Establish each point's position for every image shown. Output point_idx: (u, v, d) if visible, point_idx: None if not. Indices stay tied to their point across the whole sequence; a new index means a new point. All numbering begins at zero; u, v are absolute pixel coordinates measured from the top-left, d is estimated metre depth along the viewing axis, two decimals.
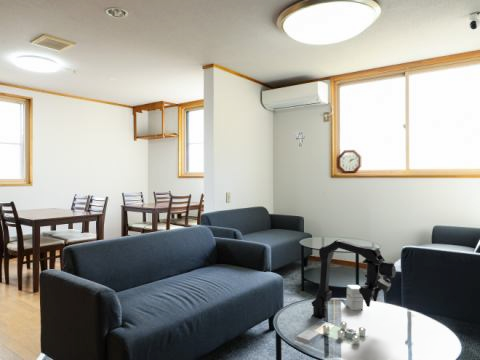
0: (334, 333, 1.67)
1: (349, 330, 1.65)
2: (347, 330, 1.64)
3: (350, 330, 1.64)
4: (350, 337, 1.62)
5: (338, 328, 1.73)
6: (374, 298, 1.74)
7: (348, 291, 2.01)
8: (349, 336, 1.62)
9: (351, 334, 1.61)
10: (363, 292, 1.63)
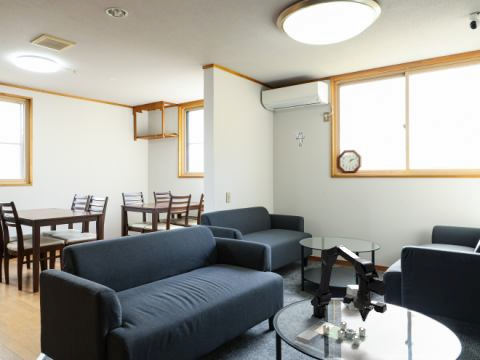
0: (334, 333, 1.67)
1: (349, 330, 1.65)
2: (347, 330, 1.64)
3: (350, 330, 1.64)
4: (350, 337, 1.62)
5: (338, 328, 1.73)
6: None
7: (348, 291, 2.01)
8: (349, 336, 1.62)
9: (351, 334, 1.61)
10: None
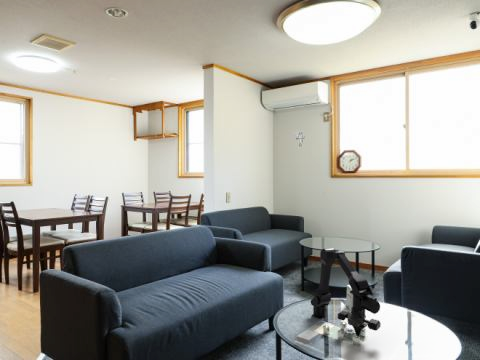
0: (334, 333, 1.67)
1: (348, 330, 1.65)
2: (346, 330, 1.64)
3: (350, 330, 1.64)
4: (349, 337, 1.62)
5: (338, 328, 1.73)
6: None
7: (348, 291, 2.01)
8: (348, 336, 1.62)
9: (350, 334, 1.62)
10: None
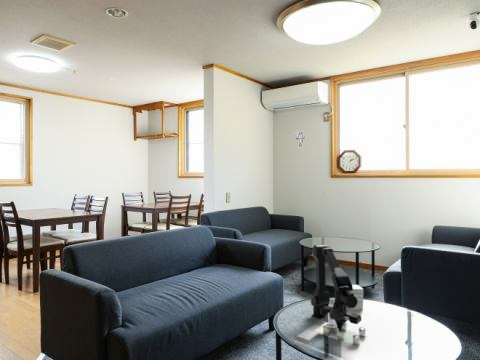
0: None
1: (331, 324, 1.70)
2: (329, 325, 1.70)
3: (332, 324, 1.70)
4: (332, 331, 1.67)
5: None
6: None
7: None
8: (331, 330, 1.67)
9: (333, 328, 1.67)
10: None
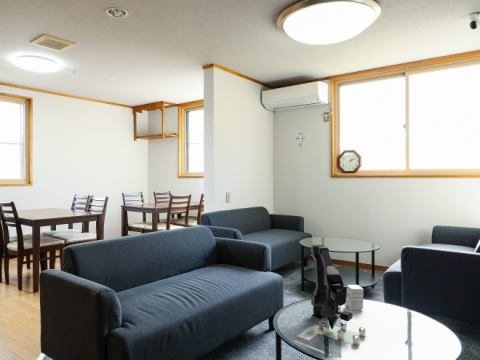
0: (334, 333, 1.67)
1: (323, 322, 1.73)
2: (321, 322, 1.72)
3: (324, 322, 1.72)
4: None
5: (338, 328, 1.73)
6: None
7: (348, 291, 2.01)
8: None
9: None
10: None
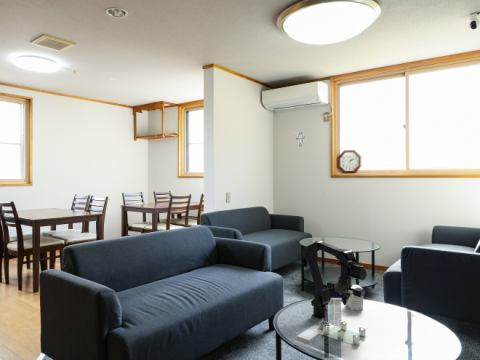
0: (334, 333, 1.67)
1: (323, 322, 1.73)
2: (321, 322, 1.72)
3: (324, 322, 1.72)
4: None
5: (338, 328, 1.73)
6: None
7: None
8: None
9: None
10: None
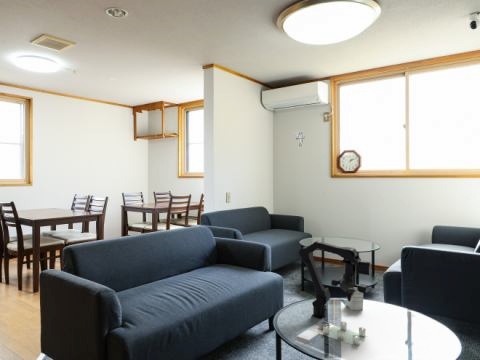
0: (334, 333, 1.67)
1: (323, 322, 1.73)
2: (321, 322, 1.72)
3: (324, 322, 1.72)
4: None
5: (338, 328, 1.73)
6: None
7: None
8: None
9: None
10: None
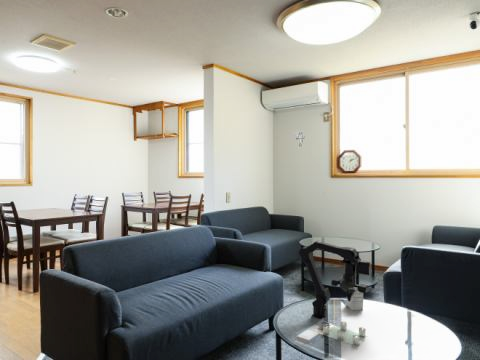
0: (334, 333, 1.67)
1: (323, 322, 1.73)
2: (321, 322, 1.72)
3: (324, 322, 1.72)
4: None
5: (338, 328, 1.73)
6: None
7: None
8: None
9: None
10: None
